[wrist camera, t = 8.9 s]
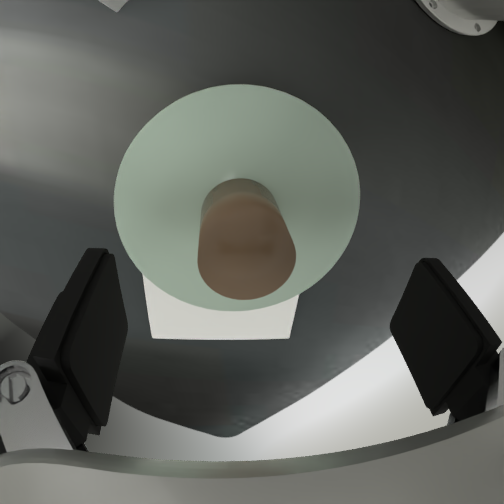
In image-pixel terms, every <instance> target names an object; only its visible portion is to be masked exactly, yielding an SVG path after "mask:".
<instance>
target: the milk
mask: <svg viewBox="0 0 504 504" xmlns="http://www.w3.org/2000/svg"><path fill="white" fill-rule="evenodd" d="M98 1H100V2H101V3H103V4H104V5H106V6H107V7H109V8H110V9H112V10H113V11H115V12H116V13H117V12H118V11H119V10H120V9H121V8H122V7H123V5H124V4H125V3H126V2H127V1H128V0H98Z"/></svg>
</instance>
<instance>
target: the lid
mask: <svg viewBox="0 0 504 504" xmlns="http://www.w3.org/2000/svg"><path fill="white" fill-rule="evenodd" d="M359 206H360V185H359V177H358V172H357V169H356V165H355V161H354V159H353V156H352V154H351V152H350V150H349V147H348V145H347V144H346V142H345V141H344V139H343V137H342V136H341V134H340V133H339V132H338V130H337V129H336V128H335V127H334V126H333V125H332V123H331V122H330V121H329V120H328V119H327V118H326V117H325V116H323V115H322V114H321V113H320V112H319V111H318V110H316V109H315V108H313V107H312V106H310V105H309V104H307V103H306V102H304V101H302V100H301V99H299V98H296V97H294V96H292V95H290V94H287V93H285V92H282V91H279V90H275V89H272V88H268V87H264V86H258V85H250V84H227V85H220V86H214V87H209V88H206V89H203V90H199V91H196V92H193V93H191V94H189V95H187V96H185V97H182V98H180V99H178V100H177V101H175V102H173V103H172V104H170V105H169V106H167V107H166V108H164V109H163V110H162V111H160V112H159V113H158V114H157V115H156V116H154V117H153V118H152V119H151V120H150V121H149V122H148V123H147V124H146V125H145V126H144V127H143V128H142V129H141V131H140V132H139V133H138V134H137V136H136V137H135V138H134V140H133V141H132V143H131V145H130V146H129V148H128V150H127V151H126V153H125V155H124V158H123V160H122V163H121V165H120V167H119V171H118V175H117V179H116V183H115V192H114V214H115V220H116V225H117V229H118V232H119V235H120V238H121V241H122V243H123V245H124V247H125V249H126V251H127V253H128V255H129V257H130V258H131V260H132V261H133V262H134V264H135V265H136V267H137V268H138V269H139V270H140V271H141V272H142V273H143V275H144V276H145V277H146V278H147V279H149V280H150V281H151V282H152V283H153V284H154V285H155V286H157V287H158V288H160V289H161V290H163V291H164V292H166V293H167V294H169V295H171V296H173V297H175V298H177V299H179V300H180V301H183V302H186V303H188V304H191V305H194V306H198V307H202V308H205V309H211V310H218V311H249V310H255V309H261V308H265V307H269V306H272V305H276V304H278V303H281V302H284V301H286V300H289V299H290V298H292V297H294V296H296V295H298V294H300V293H302V292H303V291H305V290H306V289H308V288H310V287H311V286H312V285H314V284H315V283H316V282H317V281H319V280H320V279H321V278H322V277H323V276H324V275H325V274H326V273H327V272H328V271H329V270H330V269H331V268H332V267H333V266H334V264H335V263H336V262H337V261H338V259H339V258H340V257H341V255H342V254H343V252H344V250H345V249H346V247H347V245H348V243H349V241H350V239H351V236H352V234H353V232H354V229H355V225H356V222H357V218H358V212H359Z"/></svg>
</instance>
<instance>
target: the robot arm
mask: <svg viewBox="0 0 504 504" xmlns="http://www.w3.org/2000/svg"><path fill="white" fill-rule="evenodd" d="M415 1H416V2H417V3H418V4H419V6H420V7H421V8H422V9H423V10H424V11H425V12H426V13H427V14H428V15H429V16H430V17H431V18H432V19H433V20H435V21H436V22H437V23H438V24H440V25H441V26H443V27H445V28H446V29H448V30H450V31H452V32H455V33H458V34H462V35H468V36H478V35H482V34H485V33H487V32H489V31H490V30H491V29H492V28H493V27H494V26H495V25H496V23H497V21H504V0H415ZM127 331H128V322H127V318H126V313H125V309H124V304H123V299H122V294H121V289H120V284H119V279H118V274H117V268H116V262H115V257H114V255H113V254H109V252H108V250H107V249H104V248H88V249H87V250H86V251H85V253H84V255H83V257H82V258H81V260H80V262H79V264H78V265H77V267H76V269H75V271H74V272H73V274H72V276H71V278H70V280H69V282H68V283H67V285H66V287H65V289H64V291H63V292H61V293H60V294H59V295H58V297H57V299H56V300H55V302H54V304H53V306H52V308H51V310H50V312H49V314H48V316H47V318H46V320H45V322H44V324H43V326H42V329H41V331H40V333H39V335H38V337H37V339H36V341H35V344H34V346H33V348H32V350H31V353H30V355H29V357H28V360H27V362H23V361H10V362H7V363H4V364H3V365H1V366H0V504H504V348H503V349H502V350H501V351H500V353H499V354H498V353H497V351H496V350H497V349H498V347H499V346H500V344H501V343H502V341H501V340H500V338H499V337H498V335H497V334H496V333H495V331H494V330H493V328H492V327H491V325H490V324H489V323H488V321H487V320H486V318H485V317H484V316H483V314H482V313H481V312H480V310H479V309H478V308H477V306H476V305H475V304H474V302H473V301H472V300H471V298H470V297H469V296H468V295H467V293H466V292H465V291H464V289H463V288H462V287H461V286H460V285H459V283H458V282H457V281H456V279H455V278H454V277H453V276H452V274H451V273H450V272H449V271H448V270H447V268H446V267H445V266H444V265H443V264H442V262H441V261H440V260H439V259H437V258H422V259H421V260H420V261H419V262H418V263H417V264H416V265H415V267H414V270H413V272H412V274H411V277H410V279H409V282H408V284H407V286H406V289H405V291H404V293H403V296H402V298H401V300H400V302H399V305H398V307H397V309H396V311H395V313H394V315H393V317H392V320H391V322H390V331H391V333H392V335H393V337H394V339H395V341H396V343H397V345H398V347H399V349H400V351H401V353H402V355H403V357H404V360H405V362H406V364H407V366H408V368H409V370H410V372H411V374H412V376H413V379H414V381H415V383H416V385H417V387H418V390H419V392H420V394H421V396H422V399H423V400H424V403H425V405H426V407H427V408H429V409H430V411H431V413H432V415H433V416H436V415H439V414H442V413H445V412H446V411H447V410H448V409H449V410H450V412H451V413H450V416H449V420H448V424H447V426H444V427H441V428H438V429H434V430H431V431H428V432H425V433H421V434H417V435H414V436H410V437H406V438H402V439H398V440H394V441H390V442H386V443H382V444H377V445H372V446H368V447H363V448H358V449H352V450H347V451H341V452H335V453H328V454H321V455H313V456H305V457H296V458H286V459H274V460H259V461H230V462H208V461H207V462H206V461H179V460H160V459H147V458H137V457H127V456H119V455H111V454H102V453H94V452H89V450H88V449H87V447H86V446H85V444H84V442H85V441H86V439H87V434H88V433H89V434H95V435H100V430H101V426H106V424H107V422H108V416H109V412H110V406H111V401H112V396H113V392H114V387H115V382H116V378H117V373H118V369H119V365H120V360H121V356H122V352H123V348H124V344H125V340H126V336H127Z"/></svg>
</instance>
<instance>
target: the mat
mask: <svg viewBox="0 0 504 504" xmlns="http://www.w3.org/2000/svg"><path fill="white" fill-rule="evenodd" d="M143 281H144V288H145V295H146V302H147V309H148V316H149V322H150V328H151V334H152V338H163V339H204V340H244V339H285V338H289V336H290V332H291V328H292V323H293V319H294V315H295V310H296V306H297V301H298V297H299V294H298V295H296V296H294V297H292V298H290V299H289V300H286V301H284V302H281V303H278V304H276V305H272V306H269V307H265V308H261V309H255V310H249V311H218V310H211V309H205V308H202V307H198V306H194V305H191V304H188V303H186V302H183V301H180V300H179V299H177V298H175V297H173V296H171V295H169V294H167V293H166V292H164V291H163V290H161V289H160V288H158V287H157V286H155V285H154V284H153V283H152V282H151V281H150V280H149V279H147V278H146V277H145V276H144V275H143Z"/></svg>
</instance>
